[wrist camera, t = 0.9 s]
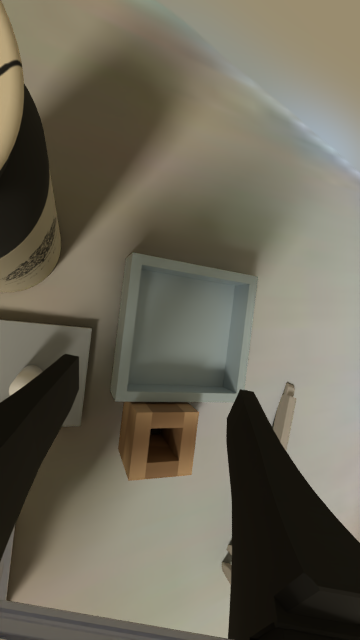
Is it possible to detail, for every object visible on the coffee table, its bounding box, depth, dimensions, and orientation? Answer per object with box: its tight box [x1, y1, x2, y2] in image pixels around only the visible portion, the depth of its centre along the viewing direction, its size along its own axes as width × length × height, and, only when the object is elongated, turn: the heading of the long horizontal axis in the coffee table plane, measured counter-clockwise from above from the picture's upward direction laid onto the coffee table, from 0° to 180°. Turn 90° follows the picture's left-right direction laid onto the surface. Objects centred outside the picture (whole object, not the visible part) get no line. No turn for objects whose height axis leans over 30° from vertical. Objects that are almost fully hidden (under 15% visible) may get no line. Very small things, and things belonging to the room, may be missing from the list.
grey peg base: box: [0, 319, 92, 427], centre depth 21 cm, size 8×8×5 cm
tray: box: [110, 252, 258, 402], centre depth 26 cm, size 12×12×3 cm
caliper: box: [222, 383, 296, 584], centre depth 28 cm, size 20×1×6 cm, turn 156°
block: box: [118, 402, 199, 481], centre depth 24 cm, size 5×5×5 cm
